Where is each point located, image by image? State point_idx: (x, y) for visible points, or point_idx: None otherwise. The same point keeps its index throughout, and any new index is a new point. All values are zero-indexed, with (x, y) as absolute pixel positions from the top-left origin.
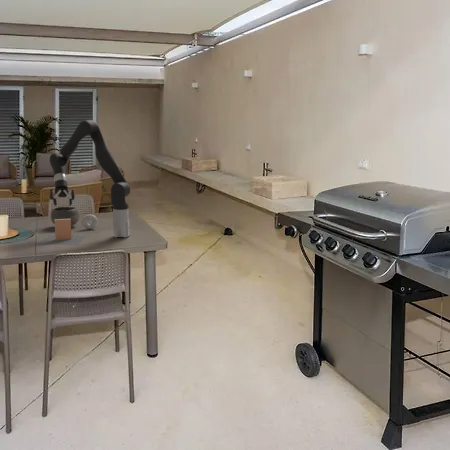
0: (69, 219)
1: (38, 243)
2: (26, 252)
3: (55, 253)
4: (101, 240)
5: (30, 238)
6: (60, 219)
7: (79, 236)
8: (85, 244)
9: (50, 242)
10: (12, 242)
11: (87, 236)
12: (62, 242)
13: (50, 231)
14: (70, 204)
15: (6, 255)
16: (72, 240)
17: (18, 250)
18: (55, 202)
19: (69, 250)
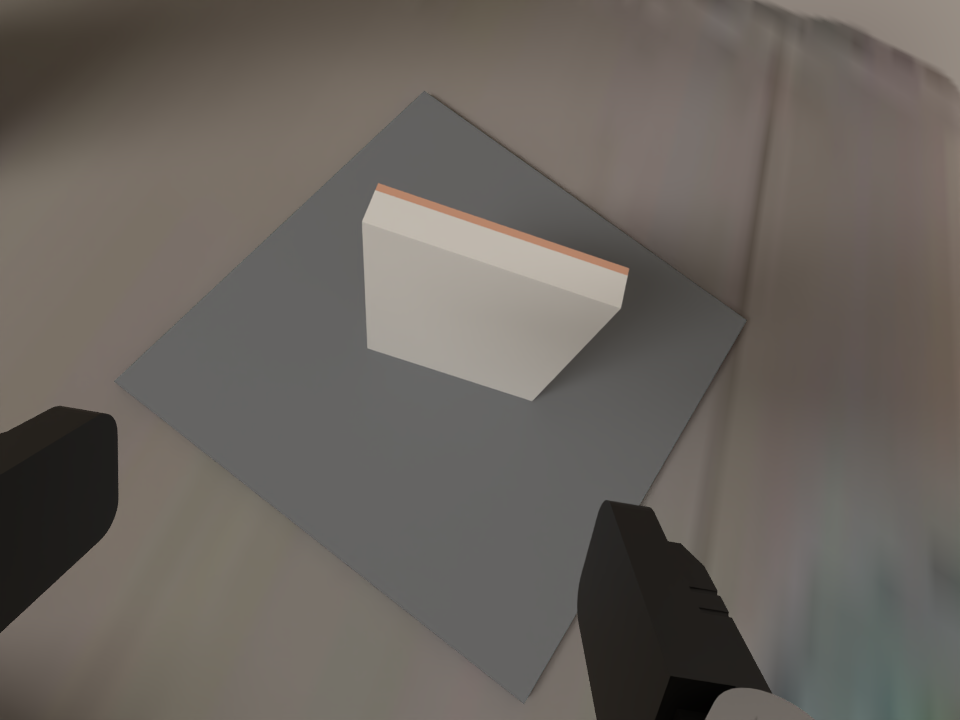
0: (397, 192)
1: (720, 329)
2: (832, 141)
3: (657, 5)
4: (130, 131)
5: None
6: (533, 255)
7: (234, 396)
8: (351, 90)
9: None
10: (930, 564)
11: (153, 345)
12: None
13: None
14: (95, 412)
15: (956, 148)
16: None
17: (882, 228)
18: (660, 539)
19: (545, 12)
